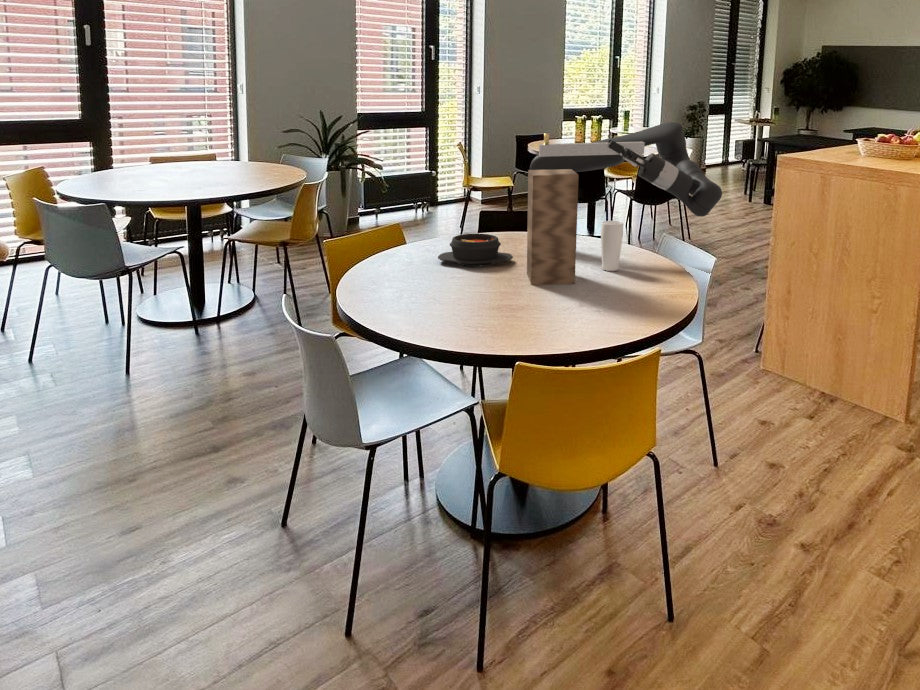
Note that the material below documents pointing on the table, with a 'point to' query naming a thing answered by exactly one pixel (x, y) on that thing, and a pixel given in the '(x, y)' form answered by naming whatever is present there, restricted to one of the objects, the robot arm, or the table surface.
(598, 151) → the bar
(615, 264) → the white tapered cylinder
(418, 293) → the table surface
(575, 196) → the pedestal
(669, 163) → the robot arm
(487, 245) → the casserole
